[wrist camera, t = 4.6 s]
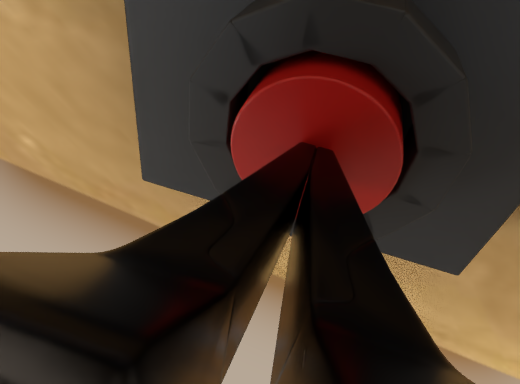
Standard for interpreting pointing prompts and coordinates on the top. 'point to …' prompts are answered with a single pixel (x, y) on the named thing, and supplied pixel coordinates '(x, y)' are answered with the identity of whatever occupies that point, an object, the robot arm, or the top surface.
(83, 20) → the top surface
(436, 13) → the grey button base
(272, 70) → the power button
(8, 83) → the top surface
